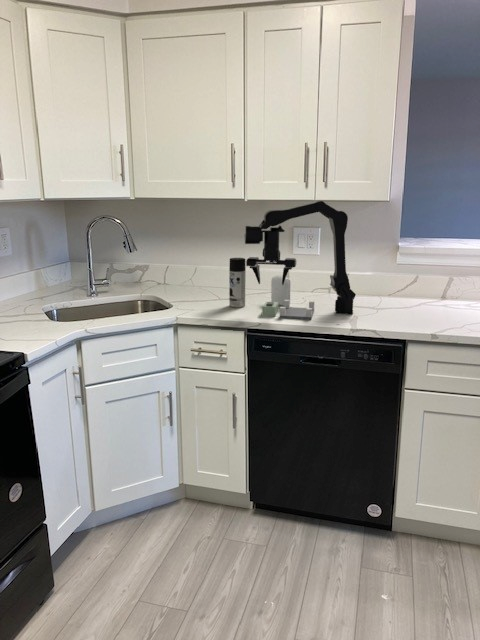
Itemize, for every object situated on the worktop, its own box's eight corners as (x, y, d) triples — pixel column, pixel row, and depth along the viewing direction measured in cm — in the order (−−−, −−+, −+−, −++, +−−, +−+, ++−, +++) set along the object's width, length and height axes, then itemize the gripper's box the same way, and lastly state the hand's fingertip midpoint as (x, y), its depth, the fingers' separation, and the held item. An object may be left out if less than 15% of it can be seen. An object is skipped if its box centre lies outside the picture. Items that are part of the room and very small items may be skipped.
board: (278, 311, 207) (278, 300, 206) (275, 317, 199) (275, 305, 197) (266, 311, 208) (266, 299, 207) (262, 316, 200) (262, 304, 199)
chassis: (314, 310, 208) (314, 301, 207) (311, 319, 194) (311, 309, 193) (284, 309, 210) (284, 299, 209) (279, 318, 196) (279, 307, 195)
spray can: (226, 305, 217) (226, 257, 212) (240, 303, 220) (241, 256, 215) (233, 308, 212) (233, 259, 207) (248, 306, 215) (248, 258, 210)
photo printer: (269, 302, 223) (270, 274, 220) (277, 301, 225) (278, 273, 222) (282, 307, 215) (283, 277, 212) (291, 305, 217) (292, 276, 214)
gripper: (298, 242, 202) (297, 281, 206) (251, 241, 206) (251, 279, 210) (295, 245, 192) (294, 286, 196) (246, 244, 196) (245, 284, 200)
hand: (271, 284), depth 201 cm, fingers open, 9 cm apart
